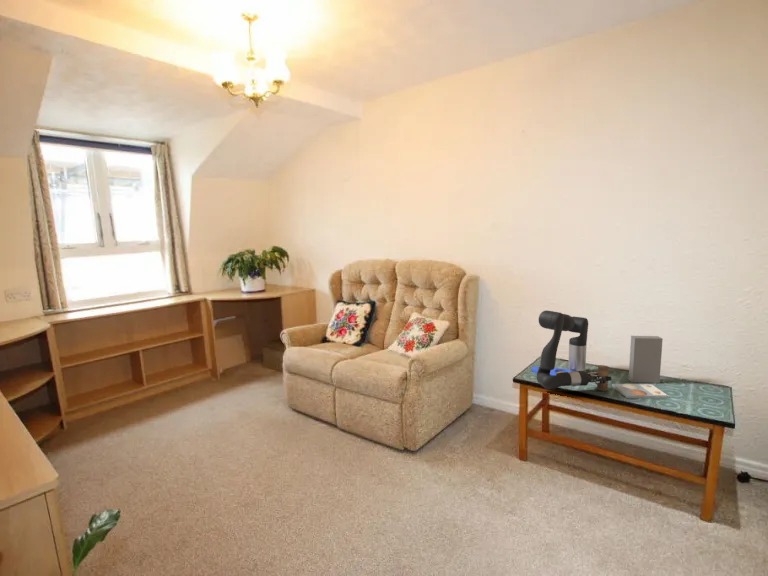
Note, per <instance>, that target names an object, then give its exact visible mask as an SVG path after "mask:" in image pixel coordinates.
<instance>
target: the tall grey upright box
mask: <svg viewBox="0 0 768 576" xmlns="http://www.w3.org/2000/svg"><path fill="white" fill-rule="evenodd" d="M629 348H630V349H629V364H628V365H629V366H628V375H627V379H628V380H629V381H630V382H632V383H646V384H653V383H655V384H660V383H661V365H662V350H663V338H662V337H661V336H658V335H631V336H630V347H629Z"/></svg>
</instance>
